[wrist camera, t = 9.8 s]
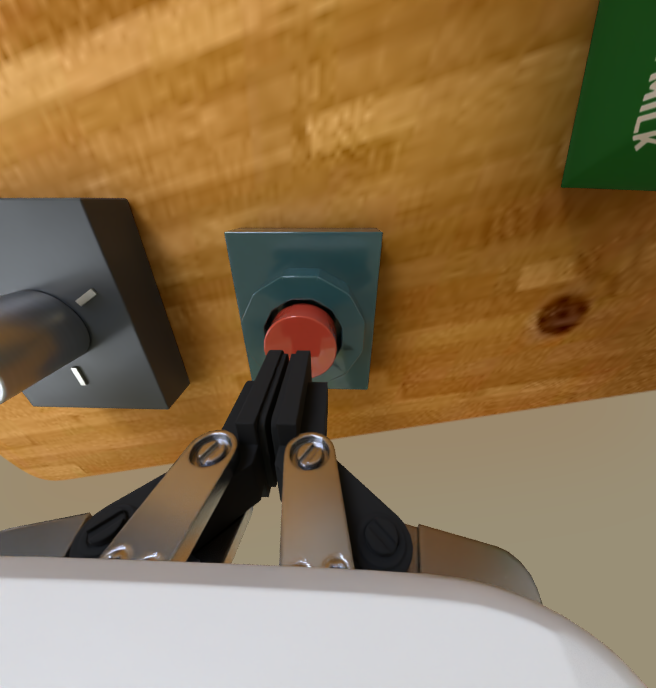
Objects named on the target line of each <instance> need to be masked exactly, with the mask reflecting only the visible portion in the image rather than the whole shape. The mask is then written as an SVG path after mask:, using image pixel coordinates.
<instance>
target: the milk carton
mask: <svg viewBox="0 0 656 688" xmlns="http://www.w3.org/2000/svg"><path fill="white" fill-rule="evenodd" d="M561 187H562V188H593V189H618V190H644V191H656V0H600V2H599V6H598V11H597V16H596V21H595V26H594V30H593V35H592V40H591V45H590V50H589V54H588V59H587V64H586V69H585V74H584V78H583V83H582V88H581V93H580V98H579V102H578V107H577V112H576V117H575V122H574V126H573V131H572V136H571V141H570V146H569V151H568V155H567V160H566V165H565V170H564V175H563V179H562V184H561Z"/></svg>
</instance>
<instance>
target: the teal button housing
mask: <svg viewBox="0 0 656 688" xmlns="http://www.w3.org/2000/svg"><path fill="white" fill-rule="evenodd" d="M224 234H225V239H226V245H227V250H228V255H229V261H230V266H231V271H232V277H233V282H234V287H235V293H236V298H237V303H238V308H239V314H240V319H241V325H242V330H243V336H244V341H245V346H246V351H247V356H248V362H249V367H250V372H251V377H252V381H255V379H256V377H257V374H258V372H259V370H260V368H261V366H262V364H263V362H264V360H265V358H266V355H265V351H264V338H265V335H266V333H267V331H268V329H269V327H270V325H271V323H272V322H273V320H274V318H275V316H276V315H277V314H278V313H279V312H280V311H281V310H282V309H284V308H285V307H287V306H289V305H292V304H297V303H307V304H312V305H315V306H317V307H319V308H321V309H323V310H324V311H325V312H327V313H328V314H329V315H330V317H331V318H332V319H333V321H334V323H335V326H336V329H337V354H336V358H335V360H334V362H333V364H332V366H331V367H330V368H329V369H328V370H327V371H326V372H324V373H323V374H321V375H319V376H317V377H314V378H312V382H328V389H364V390H367V389H368V383H369V372H370V362H371V351H372V341H373V331H374V320H375V310H376V299H377V289H378V278H379V268H380V257H381V247H382V236H383V232H381V231H380V230H378V229H377V228H238V229H234V230H230V231H226V232H224Z"/></svg>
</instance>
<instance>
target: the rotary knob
mask: <svg viewBox="0 0 656 688" xmlns="http://www.w3.org/2000/svg"><path fill="white" fill-rule="evenodd" d="M89 343H90V338H89V334H88V331H87V329H86V327H85V325H84V323H83V322H82V320H81V319H80V318H79V316H78V315H77V314H76V313H75V312H74V311H73V310H72V309H70V308H69V307H68V306H67V305H65V304H64V303H63V302H61V301H60V300H58V299H56V298H54V297H52V296H50V295H48V294H45V293H42V292H38V291H32V290H21V291H17V292H13V293H10V294H6V295H2V296H0V404H2V403H4V402H5V401H7V400H9V399H10V398H12V397H14V396H15V395H17V394H19V393H20V392H22V391H24V390H25V389H27V388H29V387H30V386H32V385H34V384H35V383H37V382H39V381H40V380H42V379H44V378H45V377H47V376H49V375H50V374H52V373H54V372H55V371H57V370H59V369H60V368H62V367H64V366H65V365H67V364H69V363H70V362H72V361H74V360H75V359H77V358H79V357H80V356H82V355H83V354H84V353H85V352H86V351H87V349H88V347H89Z"/></svg>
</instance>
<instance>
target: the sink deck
mask: <svg viewBox="0 0 656 688" xmlns="http://www.w3.org/2000/svg"><path fill="white" fill-rule="evenodd" d="M21 290H32V291H38V292H42V293H45V294H48V295H50V296H52V297H54V298H56V299H58V300H60V301H61V302H63V303H64V304H65V305H67V306H68V307H69V308H70V309H72V310H73V311H74V312H75V313H76V314H77V315H78V316H79V318H80V319H81V320H82V322H83V323H84V325H85V327H86V329H87V331H88V334H89V338H90V343H89V347H88V349H87V351H86V352H85V353H84V354H83V355H82V356H80V357H79V358H77V359H75V360H74V361H72V362H70V363H69V364H67V365H65V366H64V367H62V368H60V369H59V370H57V371H55V372H54V373H52V374H50V375H49V376H47V377H45V378H44V379H42V380H40V381H39V382H37V383H35V384H34V385H32V386H30V387H29V388H27V389H25V390H24V391H22V392H23V394H24V395H25V396H26V397H27V399H28V400H29V401H30V403H31V404H32V405H33V406H37V407H82V408H126V409H170V407H171V406H172V405H173V404H174V402H175V401H176V400H177V399H178V397H179V396H180V395H181V394H182V393H183V391H184V390H185V389H186V388H187V386H188V385H189V384H190V382H189V379H188V376H187V373H186V370H185V367H184V364H183V361H182V359H181V356H180V353H179V350H178V347H177V344H176V341H175V338H174V335H173V332H172V329H171V326H170V323H169V321H168V318H167V315H166V312H165V309H164V306H163V303H162V300H161V297H160V294H159V291H158V288H157V285H156V283H155V280H154V277H153V274H152V271H151V268H150V265H149V262H148V259H147V256H146V253H145V250H144V247H143V245H142V242H141V239H140V236H139V233H138V230H137V227H136V224H135V221H134V218H133V215H132V212H131V209H130V206H129V204H128V201H127V199H125V198H0V296H2V295H6V294H10V293H13V292H17V291H21Z"/></svg>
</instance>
